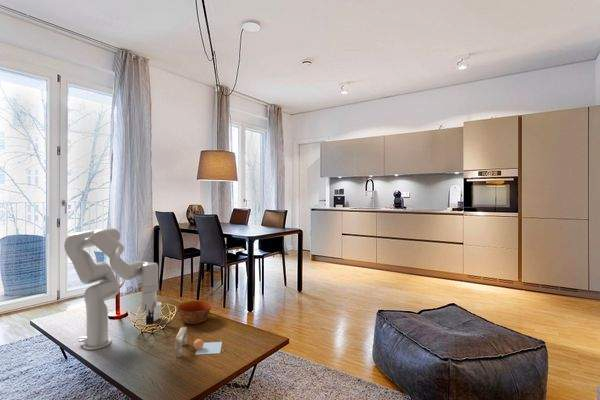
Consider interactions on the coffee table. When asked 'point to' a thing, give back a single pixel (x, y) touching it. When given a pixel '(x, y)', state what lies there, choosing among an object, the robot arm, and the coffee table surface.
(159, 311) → the white cup
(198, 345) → the ball
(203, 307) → the bowl
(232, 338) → the coffee table surface
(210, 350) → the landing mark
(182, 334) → the bridge
